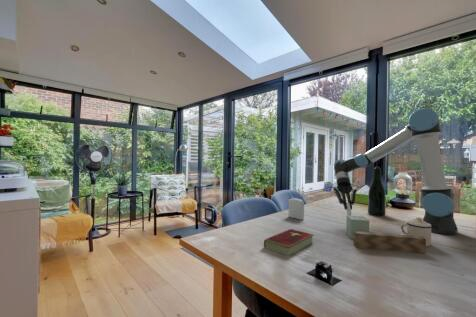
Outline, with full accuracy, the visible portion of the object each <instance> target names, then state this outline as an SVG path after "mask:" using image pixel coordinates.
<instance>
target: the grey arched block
mask: <svg viewBox="0 0 476 317" xmlns="http://www.w3.org/2000/svg"><path fill="white" fill-rule="evenodd" d="M288 217H289V218H292V219H297V220H300V221H301V220H304V219H305V202H304V200H303V199H301V198H298V197H297V198H295V197H294V198H289V199H288Z"/></svg>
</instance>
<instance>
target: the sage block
mask: <svg viewBox="0 0 476 317" xmlns="http://www.w3.org/2000/svg"><path fill="white" fill-rule="evenodd" d="M345 227H346V229H345V230H346V232H345V234H346V235H348V236H349V238H350V239H354V231H359V232H370V219H368V218H366V217H365V216H359V215H351V216H348V215H347V214H346V225H345Z"/></svg>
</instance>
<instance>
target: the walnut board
mask: <svg viewBox="0 0 476 317" xmlns="http://www.w3.org/2000/svg"><path fill="white" fill-rule="evenodd" d="M353 245H354V247H355V248H360V249H370V250H371V249H372V250H381V251H390V252H404V253H412V254H413V253H414V254H415V253H416V254H422V255H423V254H425V255H426V253H427V249H426V239H425V238H424V237H422V236H410V235H406V234H397V233H396V234H394V233H384V232H383V233H382V232H371V231H369V232H359V231H354V238H353Z"/></svg>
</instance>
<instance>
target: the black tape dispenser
mask: <svg viewBox="0 0 476 317" xmlns="http://www.w3.org/2000/svg"><path fill="white" fill-rule="evenodd" d="M315 264H316V265H315V266H314V268H313V269H311V270H310V271H307V272H306V273H305V274H306V275H308V276H310V277H313V278H315V279H317V280H319V281H320V282H323V283H325V284H327V285H329V286H331V287H333V286H337V284H339V283H341V282H342V281H343V279H340V278H338V277H336V276H333V268H332V264H329V263H327V262H324V261H322V260H321V261H319V262H316V263H315Z"/></svg>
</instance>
